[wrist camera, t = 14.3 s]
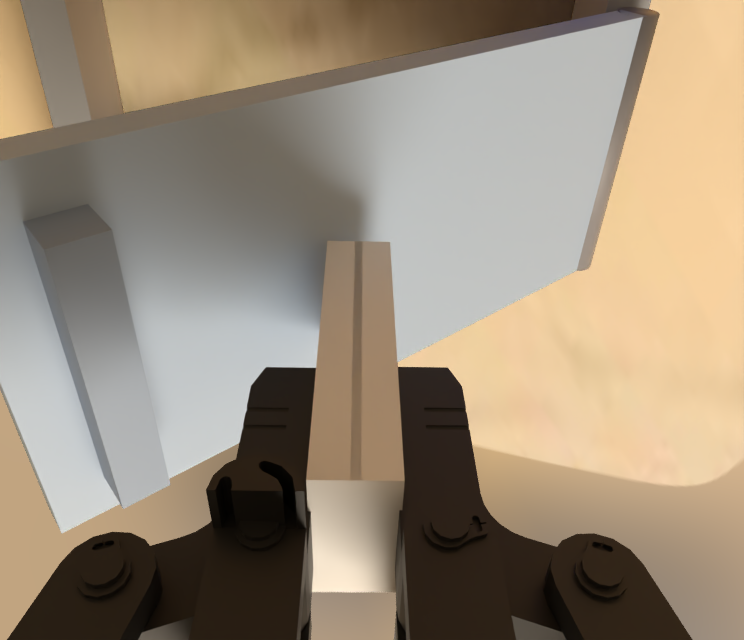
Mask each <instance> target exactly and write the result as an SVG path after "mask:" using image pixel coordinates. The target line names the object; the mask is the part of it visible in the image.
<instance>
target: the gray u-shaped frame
mask: <svg viewBox="0 0 744 640" xmlns="http://www.w3.org/2000/svg"><path fill="white" fill-rule="evenodd" d="M20 1H21V5H22V9H23V13H24V17H25V20H26V24H27V28H28V32H29V36H30V40H31V43H32V47H33V51H34V55H35V59H36V62H37V66H38V70H39V74H40V78H41V82H42V85H43V89H44V93H45V97H46V101H47V104H48V108H49V112H50V116H51V120H52V124H53V127H54V128H56V127H61V126H66V125H71V124H75V123H80V122H85V121H90V120H95V119H99V118H104V117H109V116H114V115H119V114H123V108H122V102H121V97H120V92H119V87H118V82H117V77H116V71H115V66H114V61H113V56H112V51H111V46H110V40H109V35H108V30H107V25H106V20H105V15H104V9H103V4H102V0H20ZM650 3H651V0H575V4H574V9H573V14H572V19H571V20H574V19H579V18H584V17H589V16H594V15H598V14H603V13H608V12H613V11H617V9H618V8H622V7H638V8H645V9H649V6H650Z"/></svg>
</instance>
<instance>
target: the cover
mask: <svg viewBox="0 0 744 640" xmlns="http://www.w3.org/2000/svg"><path fill="white" fill-rule="evenodd" d="M658 18H659V13H658V12H656V11H653V10H650V9H645V8H638V7H622V8H618V9H617V11H613V12H608V13H603V14H598V15H594V16H589V17H584V18H579V19H574V20H570V21H565V22H560V23H555V24H550V25H546V26H541V27H536V28H531V29H526V30H522V31H517V32H512V33H507V34H502V35H498V36H493V37H488V38H483V39H478V40H474V41H469V42H464V43H459V44H454V45H450V46H445V47H440V48H435V49H430V50H426V51H421V52H416V53H411V54H406V55H402V56H397V57H392V58H387V59H382V60H378V61H373V62H368V63H363V64H358V65H354V66H349V67H344V68H339V69H334V70H330V71H325V72H320V73H315V74H311V75H306V76H301V77H296V78H291V79H287V80H282V81H277V82H272V83H267V84H263V85H258V86H253V87H248V88H243V89H239V90H234V91H229V92H224V93H219V94H215V95H210V96H205V97H200V98H195V99H191V100H186V101H181V102H176V103H171V104H167V105H162V106H157V107H152V108H147V109H143V110H138V111H133V112H128V113H123V114H119V115H114V116H109V117H104V118H99V119H95V120H90V121H85V122H80V123H75V124H71V125H66V126H61V127H56V128H51V129H47V130H42V131H37V132H32V133H27V134H23V135H18V136H13V137H8V138H4V139H0V390H1V393H2V395H3V397H4V400H5V402H6V405H7V407H8V409H9V412H10V414H11V417H12V419H13V422H14V424H15V426H16V429H17V431H18V434H19V436H20V439H21V441H22V444H23V446H24V448H25V451H26V453H27V456H28V458H29V460H30V463H31V465H32V468H33V470H34V472H35V475H36V477H37V480H38V482H39V485H40V487H41V490H42V492H43V494H44V497H45V499H46V502H47V504H48V507H49V509H50V510H51V513H52V515H53V517H54V519H55V521H56V523H57V525H58V527H59V529H60V530H61V533H63V532H66V531H68V530H69V529H71V528H73V527H75V526H77V525H79V524H81V523H83V522H85V521H87V520H89V519H91V518H93V517H95V516H97V515H99V514H101V513H103V512H105V511H107V510H109V509H111V508H112V507H114V506H116V505H118V504H121V506H122V508H123V509H124V508H126V507H128V506H130V505H132V504H134V503H136V502H138V501H140V500H141V499H143V498H145V497H147V496H149V495H151V494H153V493H155V492H157V491H159V490H161V489H163V488H165V487H167V486H169V485H170V481H169V478H171V477H173V476H175V475H177V474H179V473H181V472H183V471H185V470H187V469H189V468H191V467H193V466H195V465H197V464H199V463H201V462H203V461H205V460H206V459H209V458H211V457H213V456H214V455H216V454H218V453H220V452H222V451H224V450H226V449H228V448H230V447H232V446H234V445H236V444H238V443H240V438H241V433H242V429H243V423H244V418H245V413H246V412H247V403H248V398H249V393H250V388H251V385H252V384H253V383H254V381H255V380H256V379H257V378H258V376H259V375H260V374H261V373H262V371H263V370H264V369H265V368H266V367H296V368H316V363H317V352H318V341H319V330H320V318H321V307H322V296H323V284H324V273H325V262H326V251H327V241H372V242H390V249H391V265H392V281H393V298H394V314H395V331H396V347H397V362H399V361H401V360H403V359H405V358H406V357H408V356H410V355H412V354H414V353H416V352H418V351H420V350H422V349H424V348H426V347H428V346H430V345H432V344H434V343H436V342H438V341H440V340H442V339H444V338H446V337H448V336H450V335H452V334H453V333H455V332H457V331H459V330H461V329H463V328H465V327H467V326H469V325H471V324H473V323H475V322H477V321H479V320H481V319H483V318H485V317H487V316H489V315H491V314H493V313H495V312H497V311H499V310H501V309H502V308H504V307H506V306H508V305H510V304H512V303H514V302H516V301H518V300H520V299H522V298H524V297H526V296H528V295H530V294H532V293H534V292H536V291H538V290H540V289H542V288H544V287H546V286H548V285H549V284H551V283H553V282H555V281H557V280H559V279H561V278H563V277H565V276H567V275H569V274H571V273H573V272H575V271H582V270H586V269H588V268H589V267H590V265H591V262H592V258H593V254H594V251H595V247H596V244H597V240H598V236H599V233H600V229H601V225H602V222H603V218H604V214H605V211H606V207H607V204H608V200H609V196H610V193H611V189H612V185H613V182H614V178H615V174H616V171H617V167H618V164H619V160H620V156H621V153H622V149H623V145H624V142H625V138H626V134H627V131H628V127H629V124H630V120H631V116H632V113H633V109H634V105H635V102H636V98H637V94H638V91H639V87H640V83H641V80H642V76H643V73H644V69H645V65H646V62H647V58H648V54H649V51H650V47H651V43H652V40H653V36H654V33H655V29H656V25H657V22H658Z"/></svg>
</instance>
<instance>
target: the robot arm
mask: <svg viewBox="0 0 744 640" xmlns="http://www.w3.org/2000/svg"><path fill="white" fill-rule="evenodd" d="M206 492H207V497H208V502H209V508H210V514H211V519H212V521H211V522H210V523H209V524H208V525H206V526H205V527H203V528H201V529H200V530H198V531H196V532H194V533H191V534H189V535H186V536H183V537H181V538H177V539H174V540H170V541H166V542H163V543H159V544H156V545H152V546H149V544H148V543H147V542H146V540H145V539H142V538H140V537H138V536H136V535H134V534H132V533H124V532H110V533H107V534H103V535H99V536H95V537H92V538H90V539H89V540H87V541H86V542H84V543H82V544H80V545H79V546H77V547H75V548H74V549H73V550H72V551H71V552H70V553H69V554H68V555H67V556H66V558H65V559H64V560H63V561H62V562H61V563H60V564H59V566H58V568H57V569H56V570H55V572H54V573H53V574H52V576H51V577H50V579H49V580H48V582H47V583H46V585H45V586H44V587H43V589H42V590H41V592H40V593H39V595H38V596H37V598H36V599H35V600H34V602H33V603H32V605H31V606H30V608H29V609H28V610H27V612H26V613H25V615H24V616H23V618H22V619H21V621H20V622H19V623H18V625H17V626H16V628H15V629H14V631H13V632H12V633H11V635H10V636H9V638H8V639H7V640H311V597H312V592H396V606H397V611H396V622H395V634H394V640H692V639H691V637H690V635H689V634H688V632H687V631H686V629H685V628H684V626H683V625H682V623H681V621H680V620H679V618H678V617H677V615H676V614H675V612H674V611H673V610H672V608H671V606H670V605H669V603H668V602H667V600H666V598H665V597H664V596H663V594H662V592H661V591H660V589H659V588H658V586H657V585H656V583H655V582H654V580H653V579H652V577H651V575H650V574H649V573H648V571H647V569H646V568H645V566H644V565H643V564H642V562H641V561H640V560H639V559H638V558H637V557H636V556H635V555H634V554H633V552H632V551H631V550H630V549H628V548H626V547H625V546H623V545H622V544H620V543H619V542H617V541H615V540H614V539H611V538H608V537H604V536H601V535H597V534H576V535H574V536H571V537H569V538H567V539H565V540H562V541H561V543H560V544H559V545H558V547H555V546H551V545H548V544H545V543H542V542H538V541H535V540H532V539H528V538H525V537H523V536H520V535H518V534H515V533H513V532H511V531H509V530H508V529H507V528H505V527H504V526H502V525H500V524H499V523H498V522H497V521H496V520H495V519H494V518H493V517H492V516H491V515H490V513H489V512H488V510H487V509H486V507H485V505H484V503H483V500H482V497H481V494H480V488H479V482H478V478H477V471H476V465H475V459H474V453H473V448H472V442H471V436H470V430H469V424H468V419H467V413H466V407H465V401H464V395H463V390H462V386H461V385H460V383H459V382H458V381H457V379H456V378H455V377H454V375H453V374H452V373H451V371H450V370H449V369H448V368H434V367H398V363H397V347H396V331H395V314H394V298H393V281H392V265H391V249H390V242H372V241H327V251H326V262H325V273H324V284H323V296H322V307H321V318H320V330H319V341H318V352H317V363H316V368H296V367H266V368H265V369H264V370H263V371H262V373H261V374H260V375H259V376H258V378H257V379H256V380H255V381H254V383H253V384H252V385H251V388H250V393H249V398H248V403H247V412H246V413H245V418H244V423H243V429H242V433H241V438H240V443H239V448H238V453H237V458H236V460H233V461H231V462H229V463H227V464H225V465H224V466H223V467H222V468H221V469H220V470H219V471H218V472H217V473H215V474H214V475H213V477H212V479H211V481H210V483H209V485H208V487H207V489H206Z"/></svg>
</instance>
